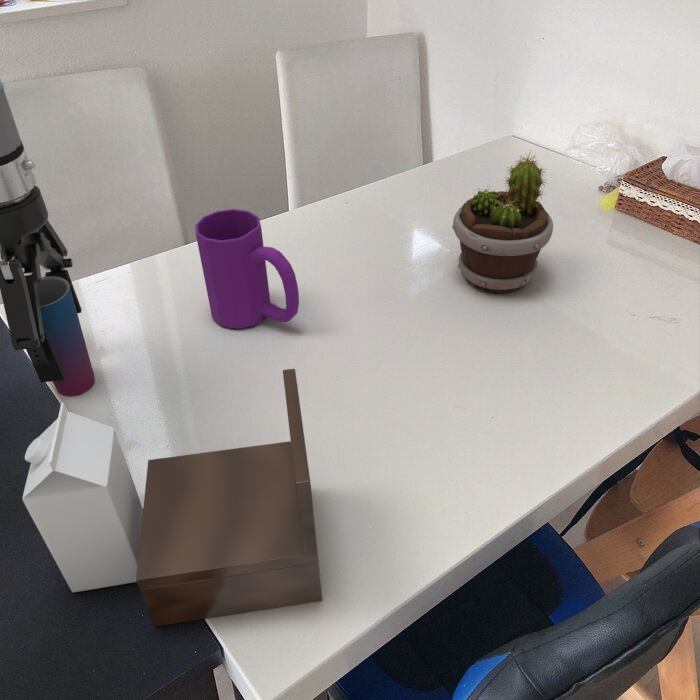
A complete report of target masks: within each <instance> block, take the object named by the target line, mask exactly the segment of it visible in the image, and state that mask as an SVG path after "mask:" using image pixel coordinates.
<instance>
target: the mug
mask: <svg viewBox="0 0 700 700" xmlns="http://www.w3.org/2000/svg"><path fill="white" fill-rule="evenodd" d="M194 229H195V230H194V231H195V237H196V243H197V247H198V253H199V258H200V263H201V269H202V273H203V277H204V283H205V288H206V294H207V298H208V303H209V309H210V314H211V318H212V320H213V321H215V322H216V323H218V325H220V326H221V327H225V328H231V329H236V330H237V329H244V328H250V327H251V328H252V327H254V326H255V325H257V324H259V323H260V322H261V321H262V320H263V319H265V318H266V317H267V318H268V319H270V320H271V321H275V322H278V323H288V322H290V321H291V320H292V319H293V318H294V317H295V316H296V315H297V314H298V312H299V306H300V294H299V286H298V281H297V276H296V272H295V271H294V268H293V267H292V264H291V263H290V261H289V259H287V258H286V256H285V255H284V254H283V253H282V252H281V251H280V250H279V249H277V248H274V247H273V246H272V247H271V246H264V238H263V231H262V223H261V220H260V217H259V215H256V214H254V213H252V212H251V211H250V210H245V209H238V208H237V209H236V208H230V209H223V210H216V211H214V212H211V213H209V214H207V215H204V216H202V218H200V219H199V220H198V222H197V223H195V225H194ZM267 262H268V263H270V264H271V265H272V266H273V267H274V268H275V270H276V272H277V273H278V275H279V278H280V279H281V283H282V287H283V290H284V296H285V308H282V307H280V306H278V305H277V304H274V303H272V302H271V295H270V288H269V287H270V286H269V279H268V270H267Z"/></svg>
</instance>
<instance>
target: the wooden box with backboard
mask: <svg viewBox="0 0 700 700" xmlns="http://www.w3.org/2000/svg"><path fill="white" fill-rule="evenodd" d="M282 377H283V387H284V395H285V403H286V404H285V405H286V413H287V422H288V430H289V439H290V441H289V440H288V441H282V442H276V443H275V442H274V443H266V444H259V445H253V446H252V445H251V446H244V447H237V448H229V449H220V450H214V451H206V452H198V453H190V454H184V455H183V454H182V455H176V456H169V457H168V456H167V457H160V458H153V459H148V460H147V469H146V477H145V478H146V479H145V489H144V499H143V517H142V527H141V537H140V547H139V557H138V567H137V577H136V581H137V582H136V584H137V586H138V588H139V590H140V593H141V596H142V598H143V600H144V602H145V604H146V607H147V609H148V612H149V615H150V617H151V619H152V621H153V624H154V627H161V626H167V625H168V626H169V625H173V624H179V623H186V622H187V623H188V622H194V621H201V620H205V619H212V618H219V617H225V616H232V615H239V614H244V613H252V612H258V611H264V610H269V609H276V608H282V607H289V606H296V605H302V604H309V603H310V604H311V603H315V602H322V601H323V591H322V581H321V572H320V571H321V570H320V563H319V552H318V551H319V550H318V543H317V533H316V521H315V514H314V513H315V512H314V505H313V504H314V503H313V502H314V501H313V493H312V484H311V476H310V468H309V461H308V460H309V459H308V453H307V446H306V439H305V432H304V423H303V417H302V410H301V402H300V395H299V389H298V387H299V386H298V380H297V374H296V369H295V368H288V369H287V368H286V369H282Z"/></svg>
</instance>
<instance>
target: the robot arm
mask: <svg viewBox="0 0 700 700" xmlns="http://www.w3.org/2000/svg"><path fill="white" fill-rule="evenodd" d="M34 169H36V163H35V161H34V160H33V159H28V156H27V152H26V149H25V146H24V144H23V140H22V138H21V136H20V132H19V130H18V127H17V124H16V120H15V118H14V115H13V113H12V110H11V105H10V103H9V99H8V97H7V94H6V92H5V85H4V82H2V79H0V259H1V260H0V295H1V299H2V303H3V308H4V313H5V317H6V321H7V326H8V331H9V335H10V340H11V343H12V349H13V350H14V351H22V350H26V353H27V355H28V357H29V360H30V361H31V364H32V366H33V368H34V371H35V373H36V376H37V378H38V379H39V382H40V384H43V383H49V382H51V383H52V381H59V380H64V378H65V374H64V372H63V370H62V367H61V365H60V362H59V360H58V358H57V355H56V353H55V350H54V348H53V346H52V343H51V341H50V338H49V336H48V334H45V335H44V331H43V323H42V315H41V307H40V300H39V292H38V283H39V282H40V281H41V277H42V272H41V267H42V268H43V269H45V270H46V272H45V273H44V277H47V276H55V277H60V278H63V279H65V280H67V281H68V283H69V285H70V288H71V292H72V296H73V299H74V303H75V307H76V310H77V314H82V311H83V310H82V306H81V303H80V301H79V298H78V296H77V293H76V289H75V287H74V285H73V281H72V279H71V277H70V273H69V271H68V268H73V266H74V264H73V260H72V258H65V257H68V253H69V252H68V249H67V247H66V246H65V245H64V242H63V241H62V240H61V238H60V237H59V234H58V233H57V232H56V230H55V229H54V227H53V226H52V224H51V223H50V221H49V211H48V208H47V206H46V203H45V201H44V197H43V195H42V192H41V189H40V188H39V187H38V185H36V183H37V180H36V176H35V174H34V172H33V170H34ZM26 274H27V275H26Z"/></svg>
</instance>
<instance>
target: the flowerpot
mask: <svg viewBox="0 0 700 700" xmlns="http://www.w3.org/2000/svg"><path fill="white" fill-rule="evenodd" d="M532 151H533V150H530V152H529V154H528V155H527V154H525V156H526V158H525V157H523V156H522V155H519V159H520V160H519V159H517V160H515V162H514V164H515V166H514V164H513V163H512V164H511V165H510V167H506V168H507V170H506V171H505V172H509V173H507V175H506V176H505V177H504V178H505V180H503V179H502V181H505V183H504V186H503V187H504V188H508V189H505V190H503V191H502V190H499V191H495V190H491V189H490V188H491V187H490V185H489V186H486V188H485V189H484V188H482V190H481V188H478V190H477V193H473V197H471V198H469V199H467V200H466V201H465V202H464V203H463V205H461V206H460V207H459V208H458V210H457V211H456V212H455V214H454V216H453V220H452V226H451V228H452V229H453V231H454V234H455V236H456V237H457V239H458V240H459V245H460V251H461V252H460V254H459V256H458V265H457V267H458V269H460V272H461V274H462V276H463V277H464V278H465V280H466V281H467V283H469V284H470V285H472V286H473V287H474V288H476V289H478V290H485V289H488V290H489V291H490V293H492V294H499V293H505V294H507V293H513V292H515V291H519V290H521V289H522V288H524V286H525V285H527V284H528V283H529V282H530V281H531V280H532V278H533V277H534V275H535V273H536V270H537V268H538V260H537V259H538V257H539V254H540V253H541V250H542V249H543V248H545V246H547V244H548V243H549V242H550V240H551V238H552V235H553V231H554V221H553V219H552V217H551V216H550V213H548V212H547V211H546V209H545V207H544V206H543V204H542V203H541V202H540V201H541V200H543V197H542V196H546V195H547V194H546V193H545V194H544V190H542V189H543V187H546V186H545V184H547V185H549V183H547V180H546V177H544V174H546V168H543V167H541V164H539V163H540V162H539V161H537V160H535V158H536V157H537V155H536V154H534V155H532V156H531V153H532ZM530 156H531V157H530ZM529 157H530V158H529ZM544 178H545V179H544ZM540 188H541V189H540ZM490 190H491V191H490ZM473 192H475V189H474V191H473Z"/></svg>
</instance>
